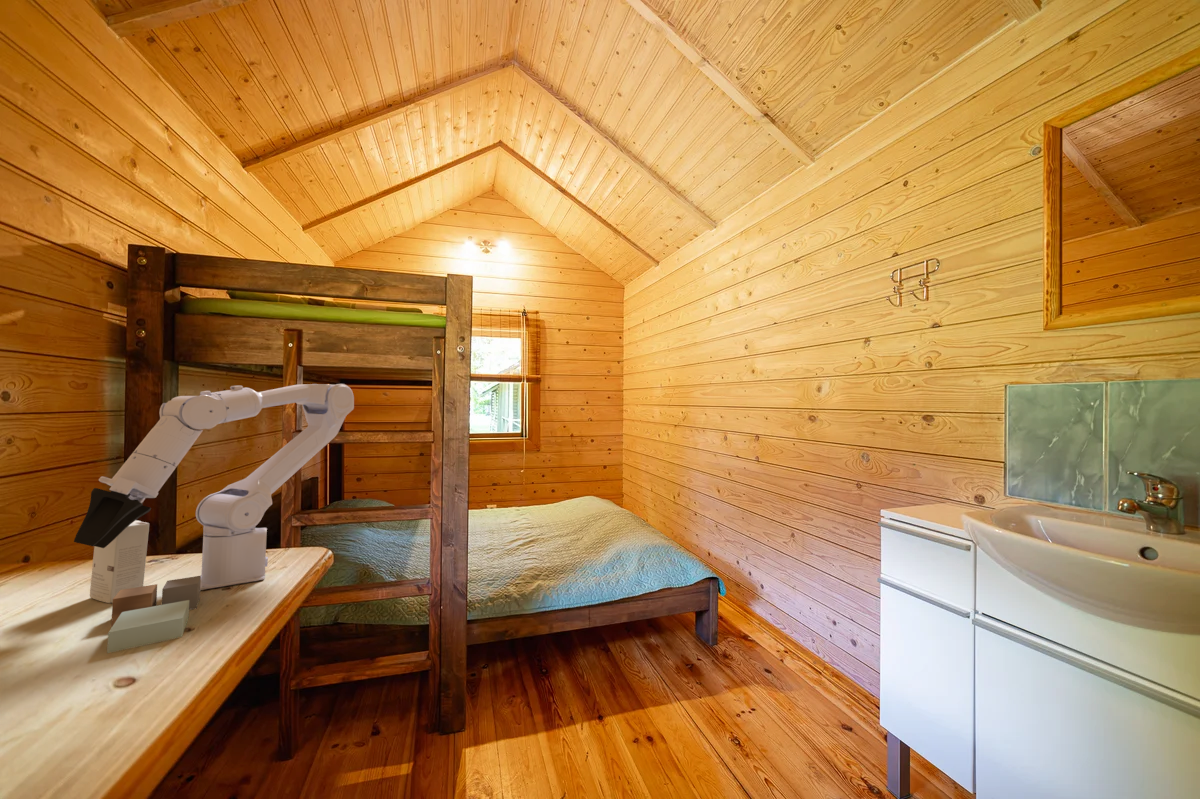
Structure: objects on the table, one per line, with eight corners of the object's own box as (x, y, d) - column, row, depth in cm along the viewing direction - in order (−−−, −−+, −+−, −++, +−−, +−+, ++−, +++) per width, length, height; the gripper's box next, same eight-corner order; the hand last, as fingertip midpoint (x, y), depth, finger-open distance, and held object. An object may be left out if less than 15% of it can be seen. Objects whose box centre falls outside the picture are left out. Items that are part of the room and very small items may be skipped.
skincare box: (87, 598, 72) (91, 524, 72) (124, 588, 76) (127, 518, 77) (110, 604, 70) (114, 528, 70) (146, 593, 74) (150, 521, 75)
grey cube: (199, 599, 73) (200, 575, 73) (196, 608, 69) (197, 583, 70) (166, 605, 70) (167, 580, 70) (161, 615, 67) (162, 589, 67)
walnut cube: (155, 609, 69) (157, 584, 69) (150, 619, 66) (151, 592, 66) (118, 616, 66) (120, 589, 67) (111, 627, 63) (112, 599, 63)
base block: (188, 619, 66) (189, 599, 66) (181, 639, 61) (182, 617, 61) (121, 633, 62) (122, 612, 62) (107, 655, 57) (108, 632, 57)
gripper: (130, 459, 74) (66, 539, 68) (114, 441, 64) (36, 533, 57) (180, 474, 78) (124, 552, 71) (173, 459, 67) (106, 549, 60)
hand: (89, 545), depth 64 cm, fingers open, 7 cm apart
